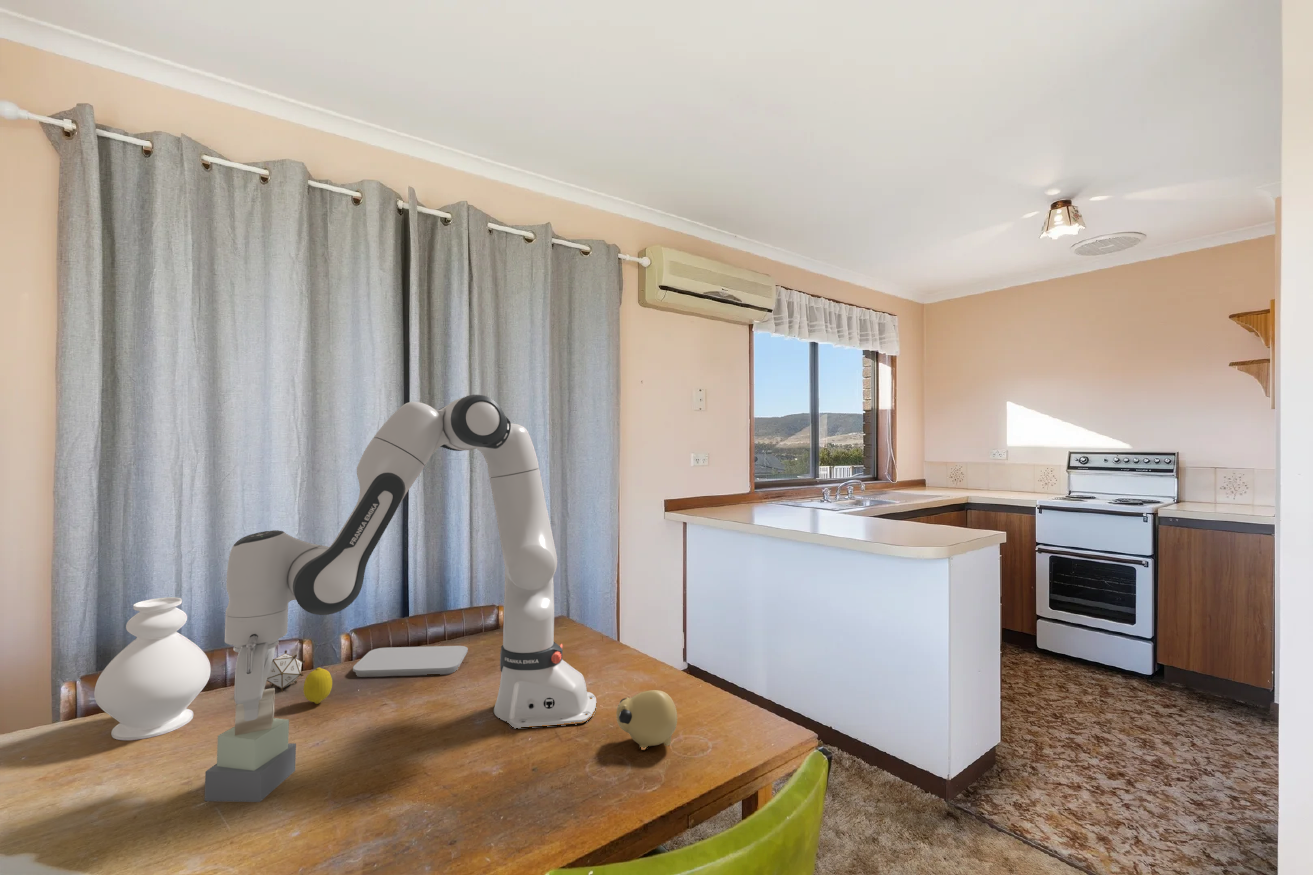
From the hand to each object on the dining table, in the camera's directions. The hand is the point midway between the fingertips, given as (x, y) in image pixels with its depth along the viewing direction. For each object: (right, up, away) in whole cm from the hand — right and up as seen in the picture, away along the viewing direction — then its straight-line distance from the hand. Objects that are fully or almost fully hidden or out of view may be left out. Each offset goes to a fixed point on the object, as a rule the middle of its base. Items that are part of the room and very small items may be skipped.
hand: (254, 708), depth 97 cm
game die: (-20, -13, +38) cm, 45 cm away
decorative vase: (-34, -13, +19) cm, 41 cm away
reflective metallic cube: (0, -3, 0) cm, 3 cm away
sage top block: (0, -8, -1) cm, 8 cm away
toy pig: (+67, -15, +15) cm, 70 cm away
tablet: (+4, -15, +54) cm, 56 cm away
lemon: (-7, -13, +30) cm, 33 cm away
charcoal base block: (0, -13, -1) cm, 13 cm away
